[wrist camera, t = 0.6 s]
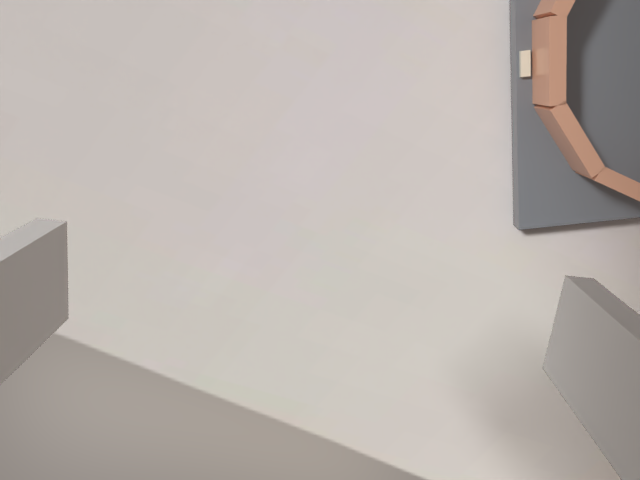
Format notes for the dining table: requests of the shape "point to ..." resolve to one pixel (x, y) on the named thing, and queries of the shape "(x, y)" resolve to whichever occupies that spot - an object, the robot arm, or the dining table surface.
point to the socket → (575, 111)
